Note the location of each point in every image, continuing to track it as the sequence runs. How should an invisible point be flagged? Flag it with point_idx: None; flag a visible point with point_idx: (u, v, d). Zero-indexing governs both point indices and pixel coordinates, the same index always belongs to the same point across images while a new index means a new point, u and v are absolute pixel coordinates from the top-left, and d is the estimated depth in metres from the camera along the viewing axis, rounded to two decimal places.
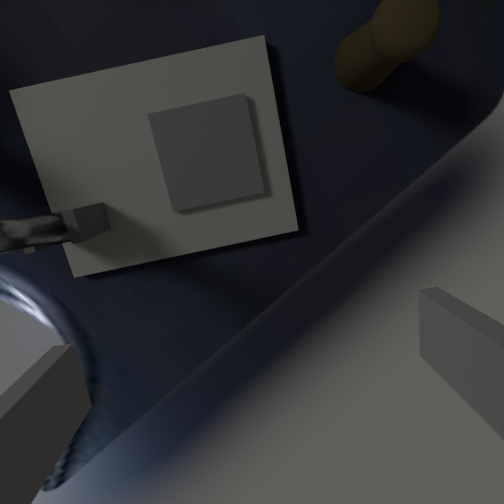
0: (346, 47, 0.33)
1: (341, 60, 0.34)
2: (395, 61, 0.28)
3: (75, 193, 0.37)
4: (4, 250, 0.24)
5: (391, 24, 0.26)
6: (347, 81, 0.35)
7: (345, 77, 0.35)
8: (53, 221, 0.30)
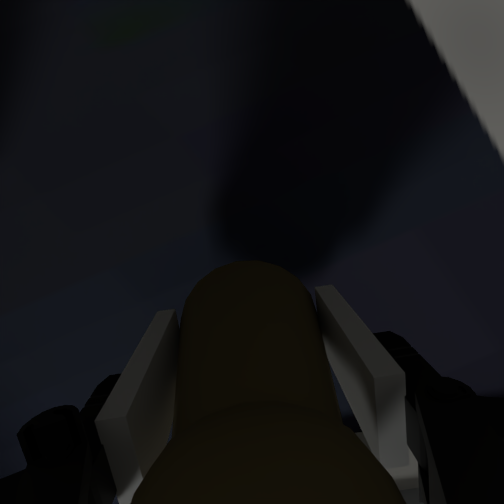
0: None
1: None
2: None
3: None
4: None
5: None
6: None
7: None
8: None
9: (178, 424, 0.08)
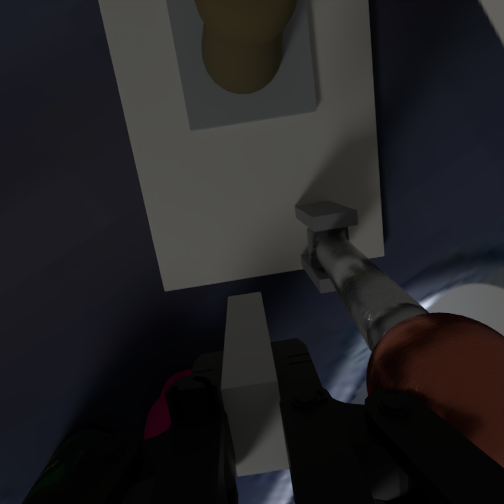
0: (233, 78, 0.23)
1: (245, 85, 0.24)
2: None
3: (281, 237, 0.30)
4: None
5: (255, 11, 0.15)
6: (270, 75, 0.25)
7: (266, 79, 0.25)
8: (327, 241, 0.22)
9: None
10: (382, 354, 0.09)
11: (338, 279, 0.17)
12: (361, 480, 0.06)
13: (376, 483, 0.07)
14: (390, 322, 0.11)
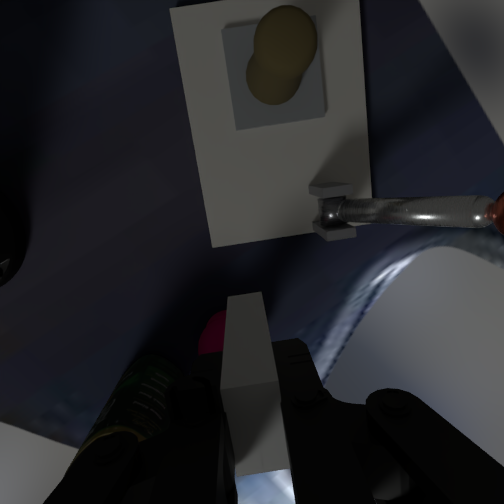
0: (269, 95, 0.35)
1: (276, 99, 0.36)
2: (315, 52, 0.28)
3: (298, 208, 0.41)
4: None
5: (291, 61, 0.27)
6: (293, 92, 0.36)
7: (290, 95, 0.36)
8: (352, 201, 0.34)
9: None
10: None
11: (405, 208, 0.29)
12: (362, 480, 0.06)
13: (376, 483, 0.07)
14: (484, 201, 0.25)
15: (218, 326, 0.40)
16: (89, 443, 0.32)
